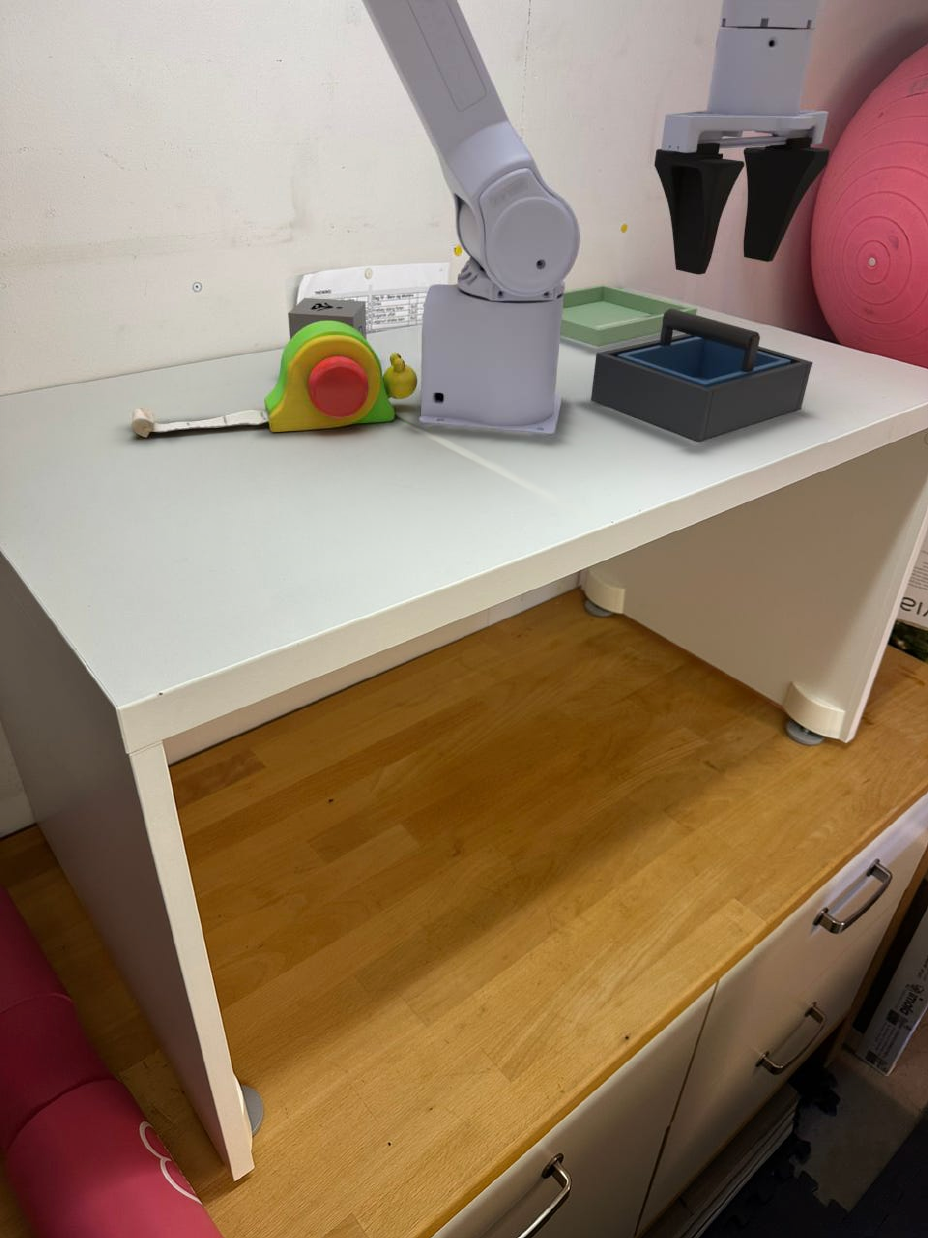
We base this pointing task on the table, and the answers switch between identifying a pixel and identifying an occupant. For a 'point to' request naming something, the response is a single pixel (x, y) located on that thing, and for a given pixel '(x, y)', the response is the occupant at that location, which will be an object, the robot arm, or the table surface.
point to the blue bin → (705, 351)
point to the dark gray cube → (328, 314)
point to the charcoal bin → (697, 394)
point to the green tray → (612, 314)
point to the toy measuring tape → (317, 386)
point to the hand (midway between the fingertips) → (725, 265)
